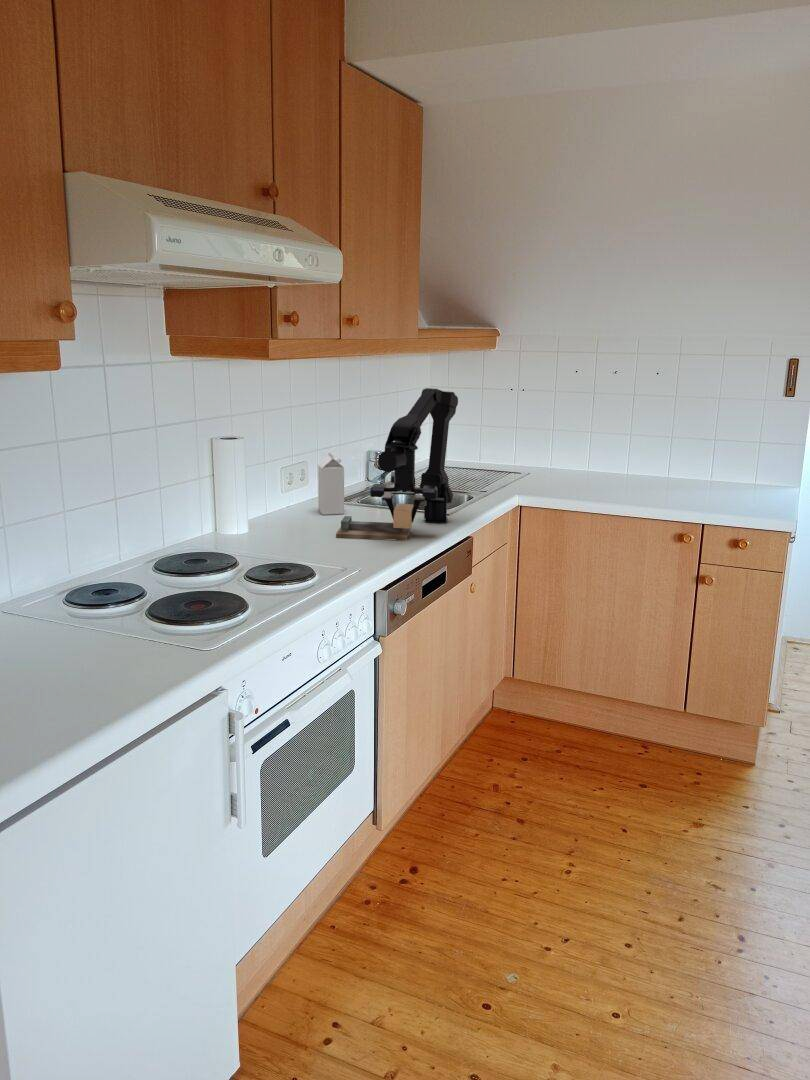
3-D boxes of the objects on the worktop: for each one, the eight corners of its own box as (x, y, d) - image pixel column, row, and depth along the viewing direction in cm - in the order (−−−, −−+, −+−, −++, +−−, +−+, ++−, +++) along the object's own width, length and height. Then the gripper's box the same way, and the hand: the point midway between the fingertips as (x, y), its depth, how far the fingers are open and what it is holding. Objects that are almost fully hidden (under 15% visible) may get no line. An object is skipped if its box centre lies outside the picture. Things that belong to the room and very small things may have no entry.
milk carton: (322, 515, 264) (321, 455, 259) (318, 510, 271) (317, 452, 266) (344, 514, 266) (344, 454, 261) (340, 509, 272) (339, 451, 268)
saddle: (413, 521, 244) (413, 504, 243) (411, 528, 236) (411, 511, 234) (396, 520, 245) (396, 503, 243) (393, 527, 236) (393, 510, 235)
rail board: (410, 530, 247) (410, 516, 246) (406, 540, 235) (406, 526, 234) (342, 527, 248) (342, 514, 247) (336, 537, 237) (335, 523, 236)
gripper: (438, 463, 243) (437, 515, 247) (374, 461, 244) (374, 513, 248) (437, 469, 232) (435, 524, 236) (370, 467, 234) (369, 522, 238)
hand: (403, 520), depth 240 cm, fingers closed on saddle, 5 cm apart
